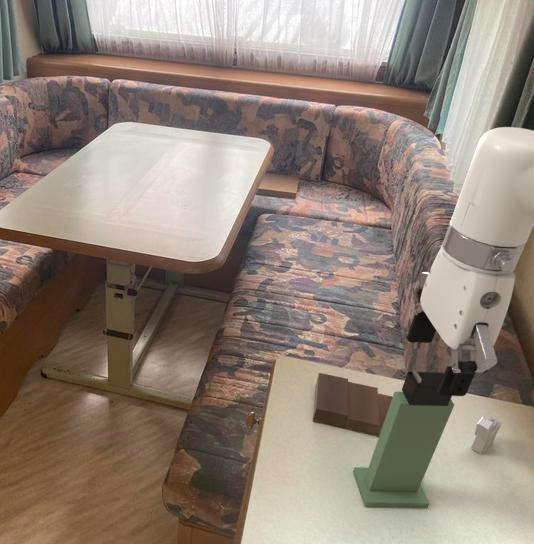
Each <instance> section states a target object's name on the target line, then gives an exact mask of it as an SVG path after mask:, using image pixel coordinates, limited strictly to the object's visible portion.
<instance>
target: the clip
mask: <svg viewBox="0 0 534 544" xmlns="http://www.w3.org/2000/svg"><path fill="white" fill-rule="evenodd" d="M445 370H446V369H443V372H440V371H439V372H437V371H417V369H416V368H412V371H407V372H406V376H405V378H404V382H403V384H402V388H401V392H403V394H404V396H405V398H406V399H407V401H408V403H409V405H424V406H448V404H449V402H450V400H452V397H453V396H441V395H439V393H438V391H437V390H438V387H439V385H440V382H441V380H442V378H443V375H444V373H445Z"/></svg>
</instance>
